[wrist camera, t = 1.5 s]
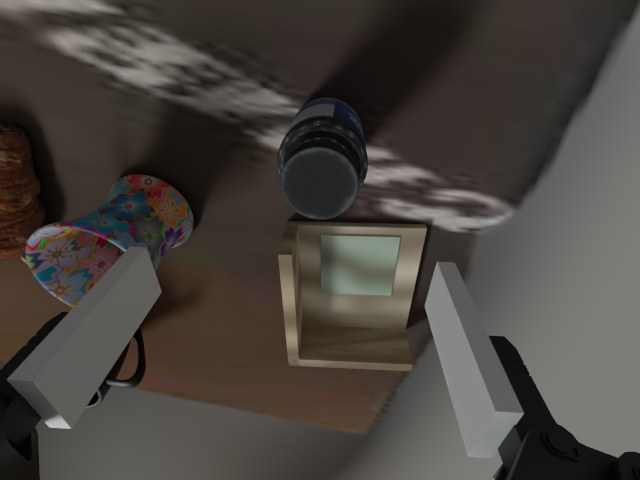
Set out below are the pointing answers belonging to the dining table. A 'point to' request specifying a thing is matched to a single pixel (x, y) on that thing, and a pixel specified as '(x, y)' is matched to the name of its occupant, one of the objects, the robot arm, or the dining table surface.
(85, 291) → the mug
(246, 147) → the dining table surface
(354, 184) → the pill bottle
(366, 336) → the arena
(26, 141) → the pastry
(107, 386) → the mug
